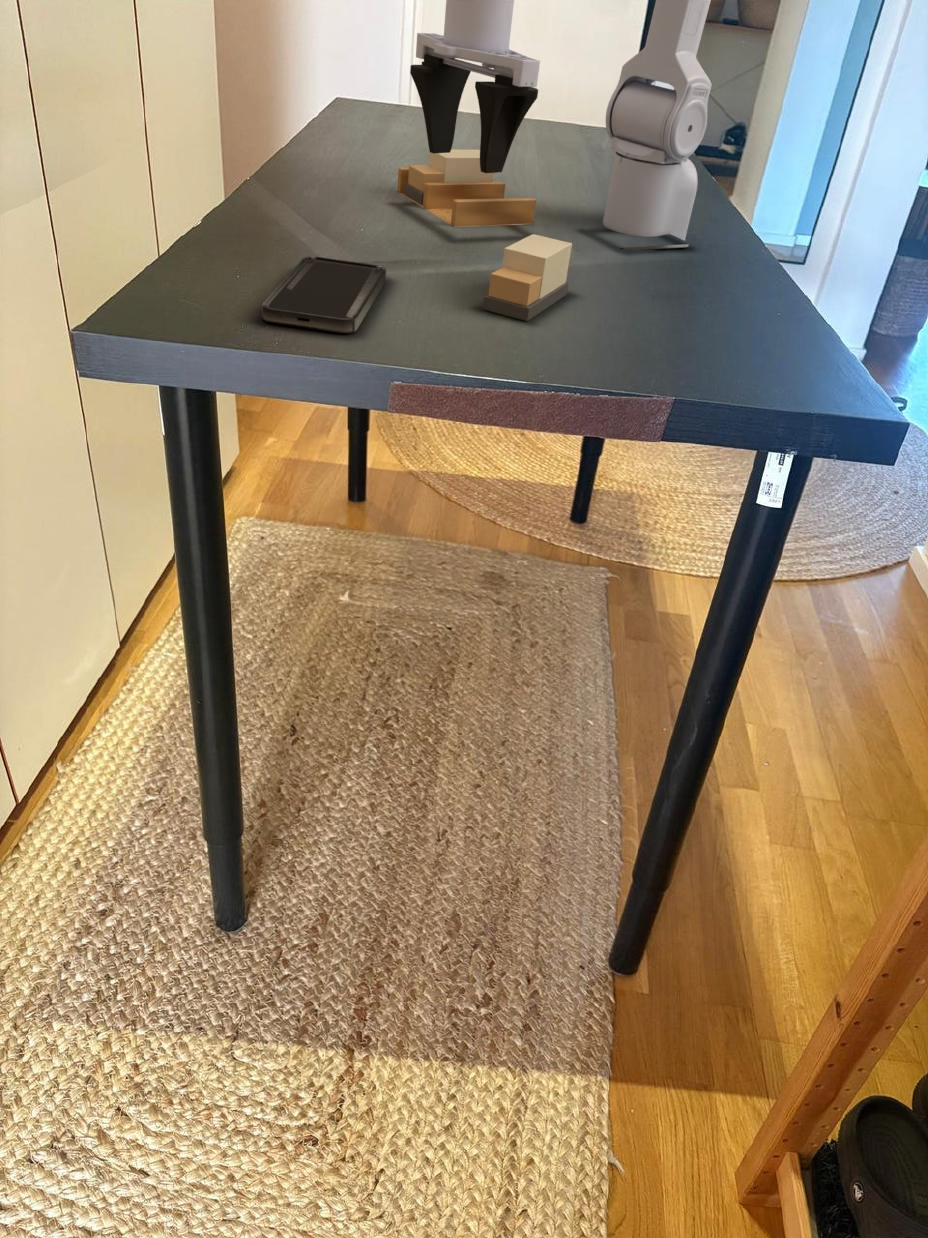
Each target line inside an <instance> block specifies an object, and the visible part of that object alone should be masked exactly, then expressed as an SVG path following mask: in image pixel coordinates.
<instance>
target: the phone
mask: <svg viewBox="0 0 928 1238" xmlns="http://www.w3.org/2000/svg"><path fill="white" fill-rule="evenodd" d="M386 277H387V268H386V267H384V266H381V265H376V264H371V263H365V262H364V263H363V262H356V261H349V260H343V259H337V258H336V259H335V258H330V257H322V256H305V257H303V258H302V259H301V260H300V261H299V262H298V263H297V264H296V265H295V266H294V268H293V269H292V270H291V271H290V272H289V273H288V274H287V276H286V277H284V278H283V279H282V281H281V282H280V283H279V284H278V285H277V286H276V288H274V289H273V291H272V292H271V293H270V294H269V295H268V296H267V297H266V299H264V301H263V302H262V304H261V312H262V313H261V314H262V315H261V316H262V319H263V320H264V321H265V322H266V323H270V324H277V325H282V326H283V325H284V326H289V327H290V326H291V327H296V328H304V329H311V330H318V331H325V332H332V333H339V334H351V333H354V332H356V331H357V330H358V329H359V327H360V326H361V324H362V322H363V321H364V319H365V317H366V316H367V314H368V312H369V310H370V309H371V307H372V305H373V304H374V302H375V300H376V299H377V298H378V296H379V294H380V292H381V290H383V287H384V286H385V285H386V282H387V281H386Z"/></svg>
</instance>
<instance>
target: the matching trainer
mask: <svg viewBox="0 0 928 1238" xmlns="http://www.w3.org/2000/svg"><path fill="white" fill-rule="evenodd" d="M428 160H429V161H428V163H429V164H409V165H408V168H409V176H408V184H405V195H407V196H408V197H410V198H411V199H413V200H415V201H416V202H418V203H419V204H421V205H423V196H424V183H456V182H494V179H495V178H494V177H495V173H483V172H481V169H480V149H451V151H450V153H431V152H430V151H429V159H428Z"/></svg>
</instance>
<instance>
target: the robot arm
mask: <svg viewBox="0 0 928 1238" xmlns="http://www.w3.org/2000/svg"><path fill="white" fill-rule="evenodd" d="M711 2H712V0H655V3H654V8H653V11H652V12H653V13H652V16H651V20H650V25H649V29H648V33H647V37H646V41H645V46H644V47H643V49H641V50H640V51H639V52H638V53H637V54H635V55H634V56H632V57H631V58H629V60H627V61H626V62H625V63H624V64H623V65H622V67H621V71H620V75H619V79H618V82H617V85H616V86H615V89H614V91H613V92H612V94H611V96H610V99H609V101H608V104H607V107H606V111H605V128H606V131H607V135H608V137H609V138H610V139H611V145H610V149H611V150H614V151H615V153H614V159H613V165H612V169H611V176H610V180H609V186H608V191H607V196H606V201H605V202H606V203H605V208H604V212H603V219H602V225H603V226H604V227H605V228H606V229H608V230H611V231H614V232H617V233H620V234H624V235H628V236H636V237H645V238H648V237H650V238H651V237H652V238H653V237H654V238H655V237H660V236H667V235H671V236H673V237H675V238H677V239H680V240H682V241H684V242H686V237H687V233H688V229H689V224H690V221H691V217H692V212H693V208H694V204H695V199H696V196H697V192H698V183H699V182H698V172H697V169H696V166H695V165H694V163H693V162H692V160H690V159H689V157H691V156H692V155H693V154H694V153H695V151H696V150H697V149H698V147H699V146H700V144H701V143H702V140H703V138H704V137H705V133H706V130H707V126H708V104H709V98H710V94H711V90H712V86H713V85H712V82H711V80H710V78H709V77H708V75H707V74H706V72H705V71H704V69H703V67H702V65H701V64H700V63H699V60H698V58H697V56H698V55H697V54H698V50H699V47H700V43H701V39H702V35H703V32H704V28H705V25H706V20H707V16H708V13H709V9H710V5H711ZM514 4H515V0H445V11H444V13H445V14H444V25H443V27H444V28H443V35H441V34H437V33H429V32H417V33H416V48H415V58H418V59H420V60H423V61H421V64H411V65H410V71H409V73H410V76H411V78H412V80H413V82H414V86H415V88H416V90H417V93H418V97H419V100H420V104H421V107H422V113H423V117H424V123H425V130H426V137H427V144H428V149H429V150H428V151H429V153H430V152H431V153H450V151H451V150H452V149H453V144H454V139H455V134H456V125H457V118H458V111H459V107H460V105H461V100H462V96H463V94H464V90H465V87H466V84H467V81H468V80H469V77H470V74H471V72H472V73H476V74H478V75H479V74H480V75H484V76H487V77H491V78H493V79H494V81H475V82H474V83H475V84H474V89H475V92H476V97H477V101H478V102H477V103H478V108H479V116H480V117H479V118H480V145H479V150H480V169H481V172H483V173H494V174H495V173H502V172H503V170H504V167H505V164H506V161H507V158H508V155H509V153H510V150H511V147H512V144H513V142H514V139H515V137H516V135H517V132H518V130H519V129H520V126H521V124H522V122H523V120H524V119H525V117H526V116H527V113H528V112H529V111H530V110H531V107H532V106H533V104H534V103H536V100H537V99H538V96H539V89H538V88H537V87H538V80H539V72H540V67H541V66H540V65H541V60H539V59H536V58H532V57H529V56H526V55H524V54H522V53H519V52H517V51H515V50H512V49H510V41H511V31H512V22H513V13H514ZM472 62H475V63H479V64H481V65H479V64H475V63H472ZM655 82H659V83H663V84H668V85H670V86H672V87H673V88H674V89H672V88H667V87H663V86H659V85H655V84H653V83H655ZM689 246H690V243H689V244H669V245H667V244H666V245H647V246H632V247H630V246H629V247H628V246H627V247H619V249H620V250H622V251H641V250H642V251H644V250H660V249H661V250H663V249H679V248H682V249H683V248H689Z"/></svg>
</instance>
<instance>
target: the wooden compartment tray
mask: <svg viewBox="0 0 928 1238" xmlns="http://www.w3.org/2000/svg"><path fill="white" fill-rule="evenodd" d="M408 176H409V167H398V170H397V185H396V186H397V187H396V191H397V193H399V194H400V195H402V196H404V197H405V198H407V199H408V200H410V201H412V202H413V203H415V204H417V205H418V206H420V207H421V208H423V209H425V210H426V211H428V212H429V213H431V214H432V215H434V216H436V217H437V218H439V219H440V220H441V221H444V222H445V223H447V224H448V225H450V226H452V227H453V228H461V227H463V228H464V227H465V228H466V227H488V226H489V227H491V226H515V225H516V226H517V225H534V221H535V213H536V207H537V199H536V198H534V197H512V198H511V197H508V198H507V197H506V198H505V191H506V183H505V182H503V181H493V182H456V183H424V196H423V205H421V204H419V203H418V202H416V201H415V200H413V199H411V198H410V197H408V196H407V195H405V184H408Z"/></svg>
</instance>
